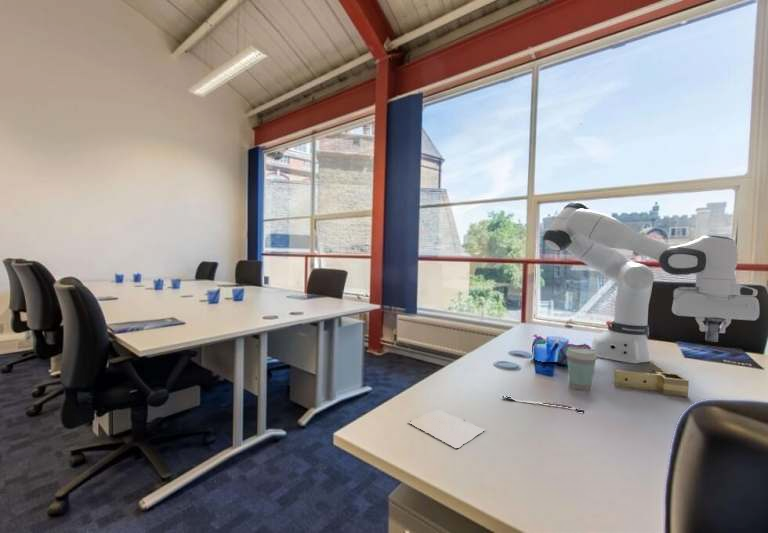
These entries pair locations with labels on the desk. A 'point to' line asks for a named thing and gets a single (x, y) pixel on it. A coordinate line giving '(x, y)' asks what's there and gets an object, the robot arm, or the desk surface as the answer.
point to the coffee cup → (580, 367)
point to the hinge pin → (712, 329)
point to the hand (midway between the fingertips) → (712, 331)
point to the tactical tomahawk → (558, 405)
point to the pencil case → (562, 353)
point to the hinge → (653, 380)
